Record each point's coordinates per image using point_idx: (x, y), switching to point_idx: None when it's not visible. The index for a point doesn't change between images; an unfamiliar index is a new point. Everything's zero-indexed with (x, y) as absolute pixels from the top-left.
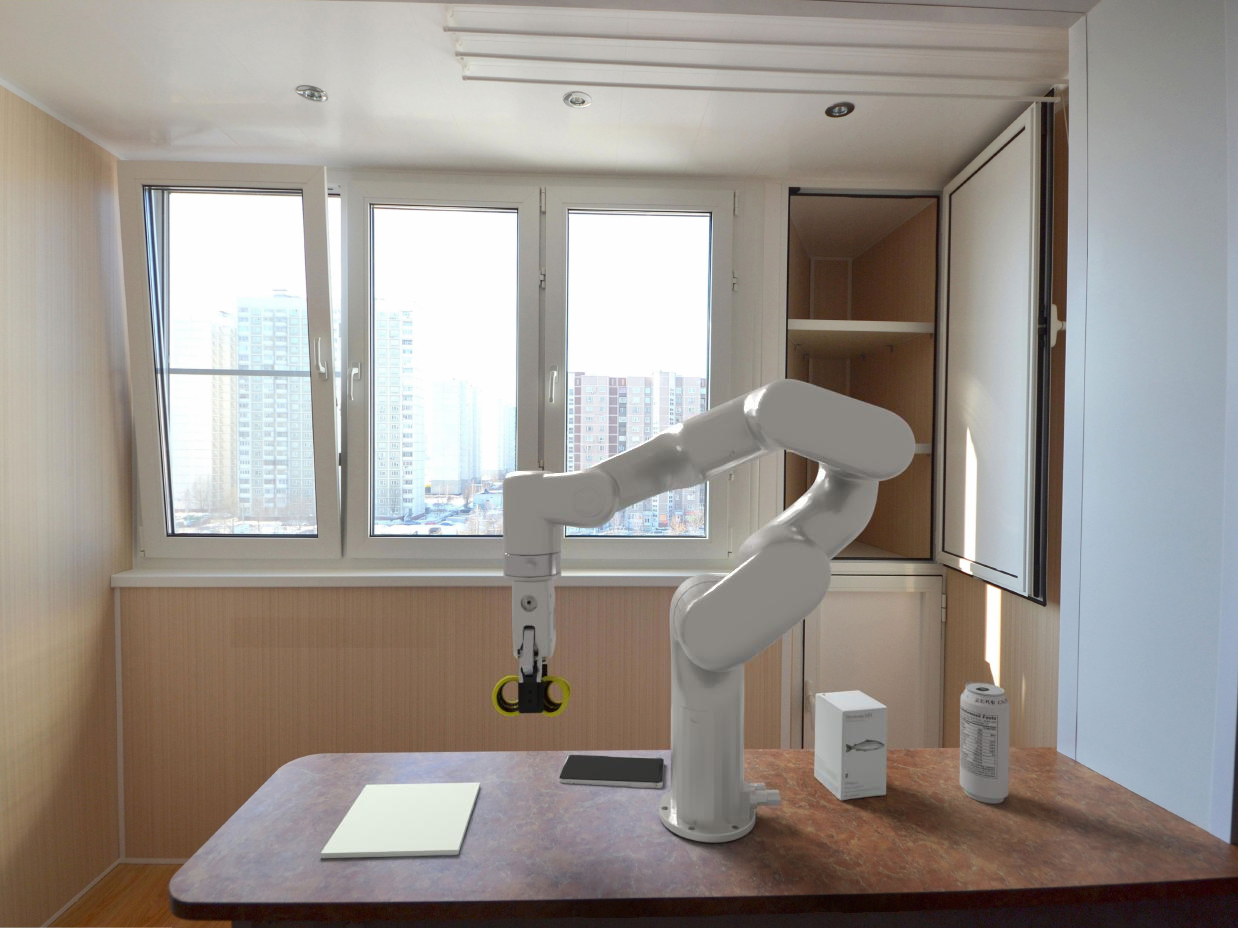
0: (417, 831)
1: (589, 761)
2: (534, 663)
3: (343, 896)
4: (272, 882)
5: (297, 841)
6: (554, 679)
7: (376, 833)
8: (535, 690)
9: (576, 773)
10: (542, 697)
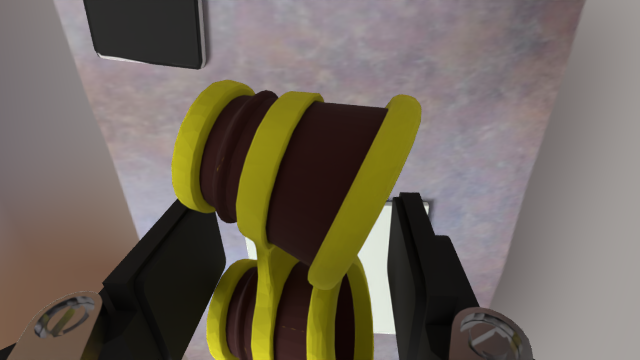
0: (376, 259)
1: (114, 1)
2: (143, 348)
3: (486, 297)
4: None
5: (375, 352)
6: (370, 226)
7: (377, 297)
8: (472, 296)
9: (175, 31)
10: (429, 232)
